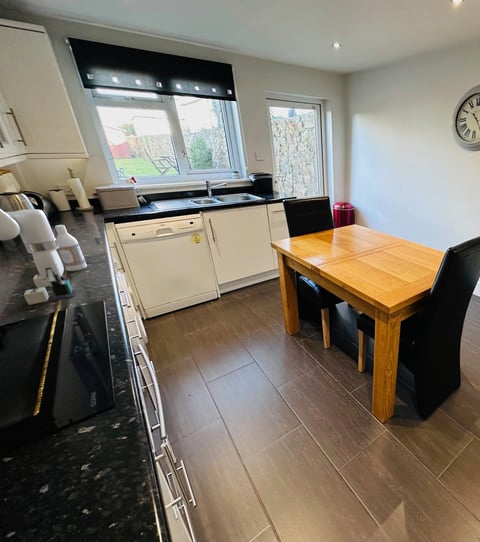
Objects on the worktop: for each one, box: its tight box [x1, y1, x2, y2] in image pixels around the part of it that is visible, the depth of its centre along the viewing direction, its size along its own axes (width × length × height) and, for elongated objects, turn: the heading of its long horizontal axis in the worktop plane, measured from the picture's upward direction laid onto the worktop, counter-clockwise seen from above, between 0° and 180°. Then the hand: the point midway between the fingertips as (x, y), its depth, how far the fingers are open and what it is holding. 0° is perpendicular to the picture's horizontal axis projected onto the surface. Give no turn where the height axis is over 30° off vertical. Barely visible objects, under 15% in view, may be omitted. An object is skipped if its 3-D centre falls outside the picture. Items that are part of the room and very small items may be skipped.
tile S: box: [49, 279, 73, 297], centre depth 104 cm, size 4×4×4 cm
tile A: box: [32, 274, 51, 288], centre depth 112 cm, size 4×4×4 cm
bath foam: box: [54, 224, 88, 272], centre depth 124 cm, size 7×7×20 cm
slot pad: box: [51, 289, 77, 302], centre depth 105 cm, size 6×6×1 cm
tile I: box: [23, 287, 50, 306], centre depth 100 cm, size 4×4×4 cm
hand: (63, 291), depth 105 cm, fingers closed on tile S, 4 cm apart
